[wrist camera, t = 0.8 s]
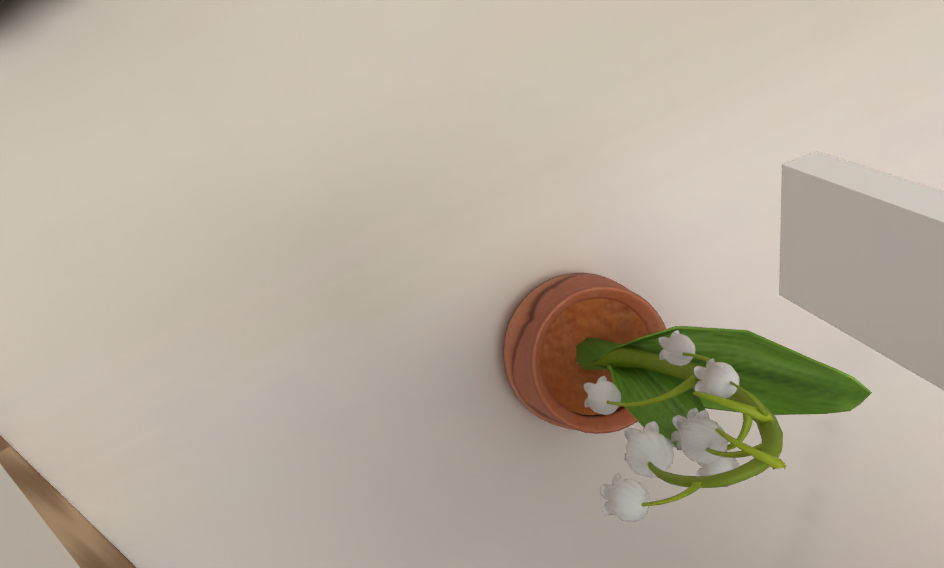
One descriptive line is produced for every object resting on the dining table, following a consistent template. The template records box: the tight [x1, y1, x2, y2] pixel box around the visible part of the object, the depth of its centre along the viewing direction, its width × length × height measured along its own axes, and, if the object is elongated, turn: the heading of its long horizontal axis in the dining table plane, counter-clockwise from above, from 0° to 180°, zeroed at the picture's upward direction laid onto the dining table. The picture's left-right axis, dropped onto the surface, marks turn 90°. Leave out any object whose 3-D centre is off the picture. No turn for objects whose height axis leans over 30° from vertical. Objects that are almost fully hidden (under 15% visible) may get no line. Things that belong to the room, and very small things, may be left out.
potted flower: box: [504, 273, 872, 522], centre depth 33 cm, size 12×10×25 cm
